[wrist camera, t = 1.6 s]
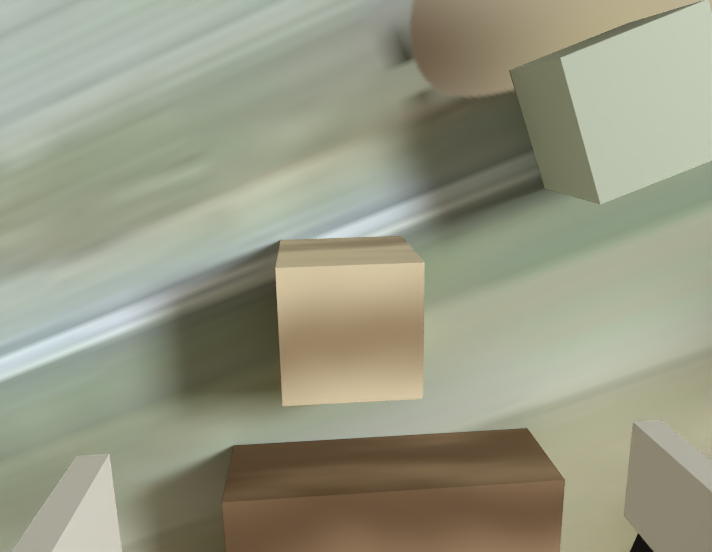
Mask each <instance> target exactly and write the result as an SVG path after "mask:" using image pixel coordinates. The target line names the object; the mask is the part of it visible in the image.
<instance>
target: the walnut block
mask: <svg viewBox="0 0 712 552" xmlns="http://www.w3.org/2000/svg"><path fill="white" fill-rule="evenodd" d="M564 486H565V479H564V478H563V477H562V475H561V474H560V473H559V471H558V470H557V468H556V467H555V466H554V464H553V463H552V462H551V460H550V459H549V457H548V456H547V455H546V453H545V452H544V451H543V449H542V448H541V446H540V445H539V444H538V442H537V441H536V440H535V438H534V437H533V435H532V434H531V433H530V431H529V430H528V429H527V428H526V429H509V430H492V431H474V432H457V433H440V434H423V435H406V436H389V437H372V438H355V439H338V440H321V441H304V442H287V443H270V444H252V445H235V446H234V447H233V452H232V457H231V461H230V466H229V471H228V475H227V480H226V485H225V489H224V494H223V499H222V512H223V524H224V536H225V548H226V552H560V539H561V525H562V512H563V499H564Z"/></svg>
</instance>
